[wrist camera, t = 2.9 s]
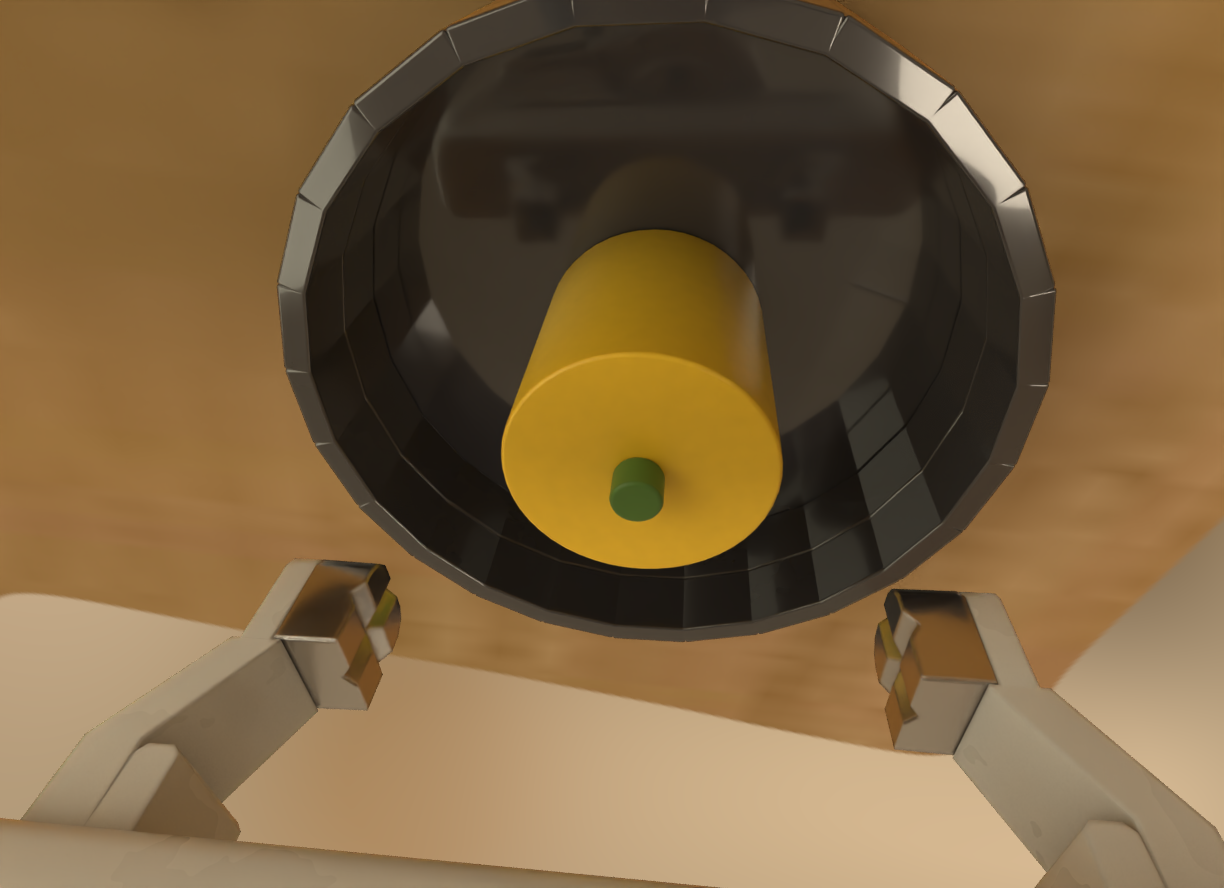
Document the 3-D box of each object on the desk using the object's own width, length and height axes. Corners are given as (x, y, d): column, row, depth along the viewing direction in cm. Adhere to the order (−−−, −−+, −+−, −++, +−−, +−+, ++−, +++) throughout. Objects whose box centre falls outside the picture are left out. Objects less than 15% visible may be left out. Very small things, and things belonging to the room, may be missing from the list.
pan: (263, -26, 14) (137, -2, 11) (1095, -63, 12) (1230, -48, 9) (425, 528, 24) (383, 625, 20) (904, 549, 22) (937, 658, 19)
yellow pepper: (538, 228, 16) (466, 376, 11) (773, 227, 16) (806, 382, 11) (559, 414, 20) (510, 593, 15) (753, 419, 19) (771, 607, 14)
